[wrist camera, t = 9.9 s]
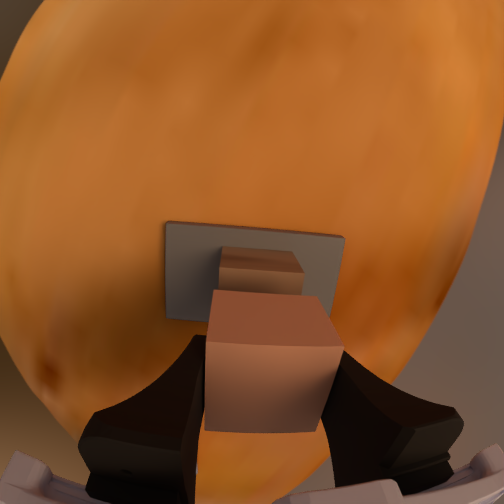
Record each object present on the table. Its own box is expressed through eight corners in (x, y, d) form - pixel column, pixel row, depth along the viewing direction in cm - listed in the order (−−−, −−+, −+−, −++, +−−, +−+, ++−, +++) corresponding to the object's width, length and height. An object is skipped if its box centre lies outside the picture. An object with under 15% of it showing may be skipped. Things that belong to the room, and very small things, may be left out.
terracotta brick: (299, 374, 15) (315, 431, 11) (210, 371, 14) (204, 430, 11) (317, 296, 13) (344, 346, 10) (213, 289, 13) (205, 341, 9)
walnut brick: (282, 312, 22) (292, 343, 18) (218, 308, 21) (215, 340, 17) (292, 251, 20) (304, 273, 16) (222, 246, 20) (219, 267, 16)
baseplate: (324, 322, 23) (326, 327, 22) (168, 312, 22) (166, 318, 21) (341, 235, 21) (345, 238, 20) (168, 220, 20) (166, 223, 19)
